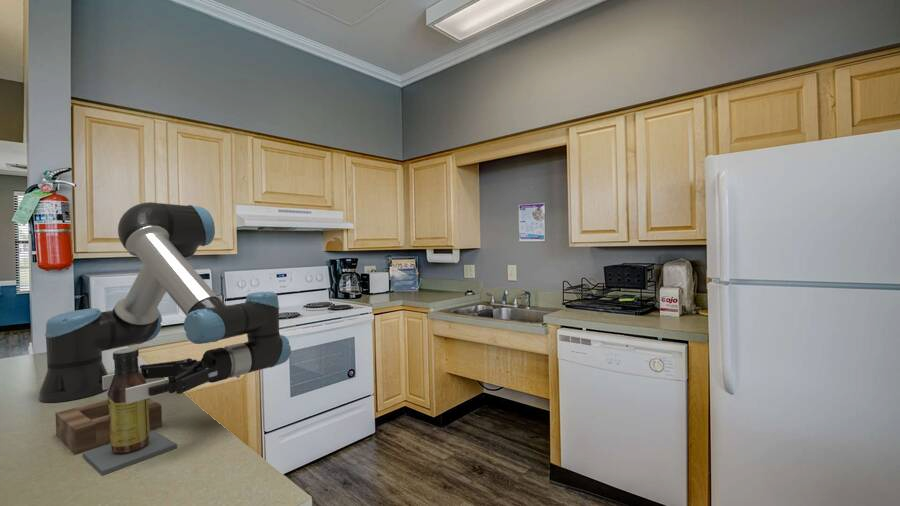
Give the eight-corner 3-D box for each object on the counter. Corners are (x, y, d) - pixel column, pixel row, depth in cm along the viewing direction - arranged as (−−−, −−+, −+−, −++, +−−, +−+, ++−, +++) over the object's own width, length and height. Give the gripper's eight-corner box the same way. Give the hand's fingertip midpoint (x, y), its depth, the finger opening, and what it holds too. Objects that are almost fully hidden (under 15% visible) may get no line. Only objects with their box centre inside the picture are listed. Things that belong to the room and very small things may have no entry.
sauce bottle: (125, 441, 85) (122, 346, 85) (157, 439, 86) (154, 344, 86) (101, 457, 79) (97, 354, 79) (135, 455, 79) (132, 352, 79)
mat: (82, 456, 81) (82, 452, 81) (153, 433, 91) (153, 429, 91) (102, 475, 74) (102, 471, 74) (176, 447, 84) (176, 443, 84)
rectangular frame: (56, 435, 91) (55, 413, 91) (137, 412, 103) (136, 392, 103) (75, 454, 82) (74, 429, 82) (162, 426, 94) (161, 404, 94)
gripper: (254, 388, 90) (138, 423, 73) (202, 370, 105) (95, 395, 87) (253, 354, 90) (136, 381, 73) (201, 340, 105) (93, 361, 87)
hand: (113, 389), depth 80 cm, fingers open, 13 cm apart
